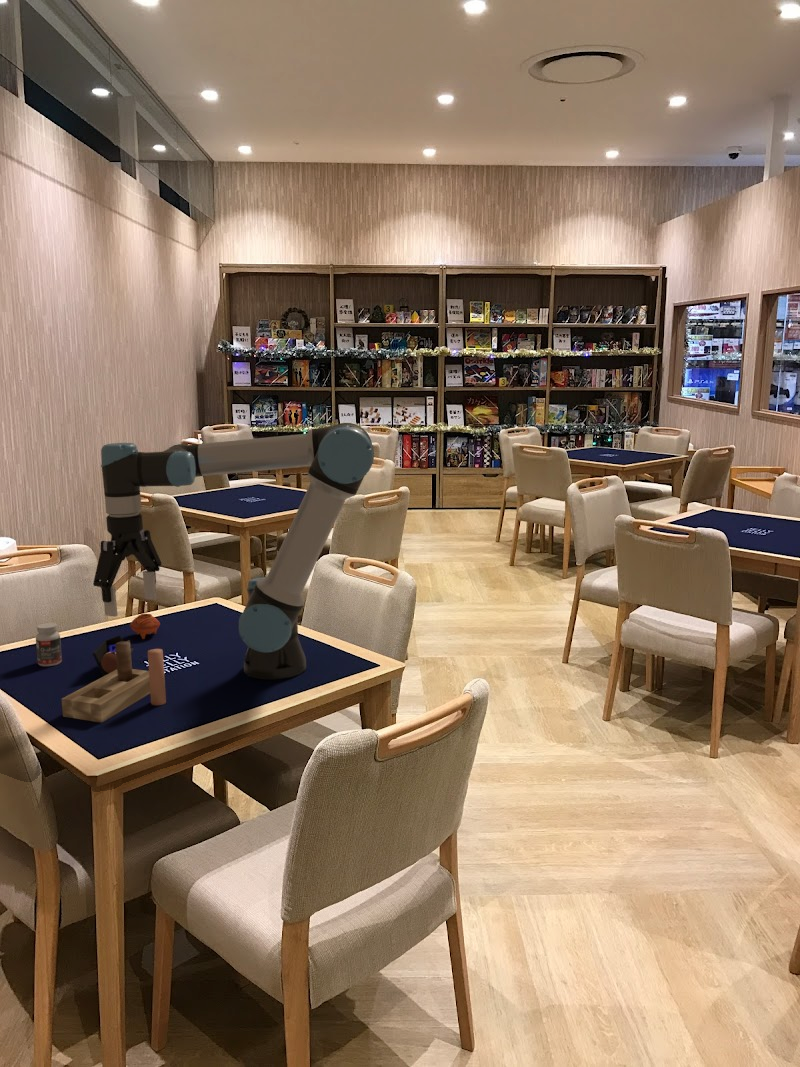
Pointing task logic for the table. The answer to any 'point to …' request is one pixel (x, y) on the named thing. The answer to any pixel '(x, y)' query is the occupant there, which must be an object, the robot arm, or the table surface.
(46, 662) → the pill bottle
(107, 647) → the character figurine
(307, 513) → the robot arm
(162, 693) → the terracotta peg
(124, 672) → the walnut peg
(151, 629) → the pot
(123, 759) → the table surface
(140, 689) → the maple hole block
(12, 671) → the table surface
